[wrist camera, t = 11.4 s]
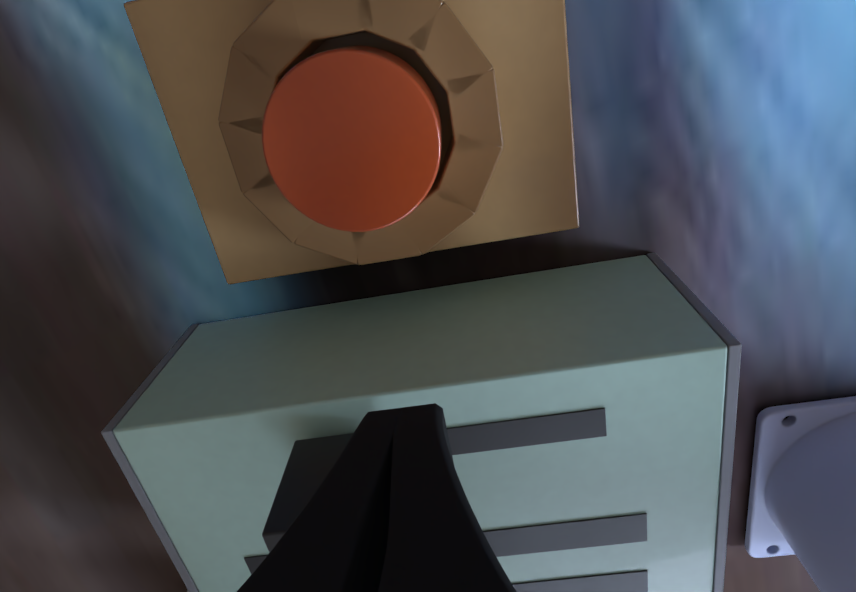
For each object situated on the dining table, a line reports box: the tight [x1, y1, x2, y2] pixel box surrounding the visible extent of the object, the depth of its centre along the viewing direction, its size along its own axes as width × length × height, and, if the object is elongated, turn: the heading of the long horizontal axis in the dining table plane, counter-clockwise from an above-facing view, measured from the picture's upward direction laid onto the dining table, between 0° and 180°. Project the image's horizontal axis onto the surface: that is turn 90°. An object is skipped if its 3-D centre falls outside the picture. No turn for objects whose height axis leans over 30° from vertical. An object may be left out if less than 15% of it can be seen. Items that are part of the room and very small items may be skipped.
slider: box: [262, 433, 353, 553], centre depth 13 cm, size 2×2×3 cm
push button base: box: [124, 0, 579, 284], centre depth 15 cm, size 11×8×4 cm
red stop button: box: [262, 46, 441, 232], centre depth 13 cm, size 4×4×2 cm
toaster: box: [101, 253, 742, 592], centre depth 19 cm, size 17×10×6 cm, turn 100°
